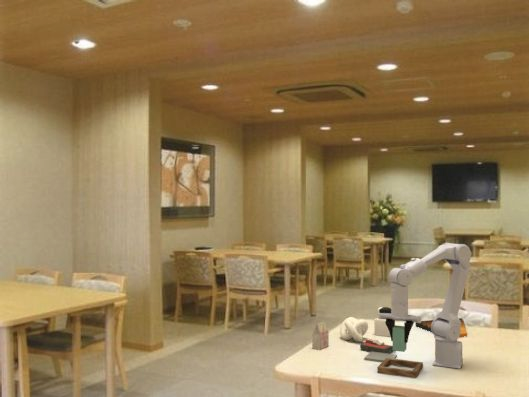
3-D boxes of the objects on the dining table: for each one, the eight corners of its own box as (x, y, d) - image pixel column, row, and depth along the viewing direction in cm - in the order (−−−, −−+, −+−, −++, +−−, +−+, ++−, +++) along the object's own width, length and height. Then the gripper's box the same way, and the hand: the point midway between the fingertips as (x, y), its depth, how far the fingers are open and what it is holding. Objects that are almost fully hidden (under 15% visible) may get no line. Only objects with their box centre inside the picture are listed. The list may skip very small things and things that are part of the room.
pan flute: (459, 324, 273) (415, 327, 265) (459, 317, 273) (415, 320, 265) (495, 335, 249) (448, 339, 241) (495, 328, 249) (448, 331, 241)
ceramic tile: (397, 356, 211) (397, 354, 211) (390, 363, 202) (390, 361, 202) (371, 353, 216) (371, 351, 216) (364, 359, 207) (364, 357, 207)
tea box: (312, 348, 223) (312, 323, 223) (320, 345, 228) (320, 321, 228) (320, 350, 220) (320, 325, 221) (328, 346, 226) (328, 322, 226)
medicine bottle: (395, 334, 249) (395, 307, 249) (389, 337, 243) (389, 309, 243) (379, 332, 253) (380, 305, 253) (374, 335, 247) (374, 308, 247)
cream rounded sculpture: (360, 335, 246) (360, 315, 246) (374, 342, 234) (374, 320, 234) (337, 337, 242) (337, 316, 242) (349, 344, 231) (350, 322, 231)
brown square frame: (422, 368, 197) (422, 362, 197) (415, 378, 185) (415, 372, 185) (386, 363, 203) (386, 357, 203) (377, 372, 191) (377, 367, 191)
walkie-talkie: (399, 352, 219) (356, 344, 232) (399, 341, 219) (356, 333, 232) (387, 357, 212) (344, 347, 226) (387, 345, 212) (344, 337, 226)
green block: (406, 349, 196) (406, 326, 196) (404, 351, 192) (404, 328, 192) (395, 347, 197) (395, 325, 198) (392, 350, 194) (392, 327, 194)
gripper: (376, 302, 195) (376, 341, 194) (418, 306, 188) (418, 346, 188) (381, 299, 201) (381, 337, 201) (422, 302, 195) (422, 341, 194)
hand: (399, 341), depth 195 cm, fingers closed on green block, 4 cm apart
